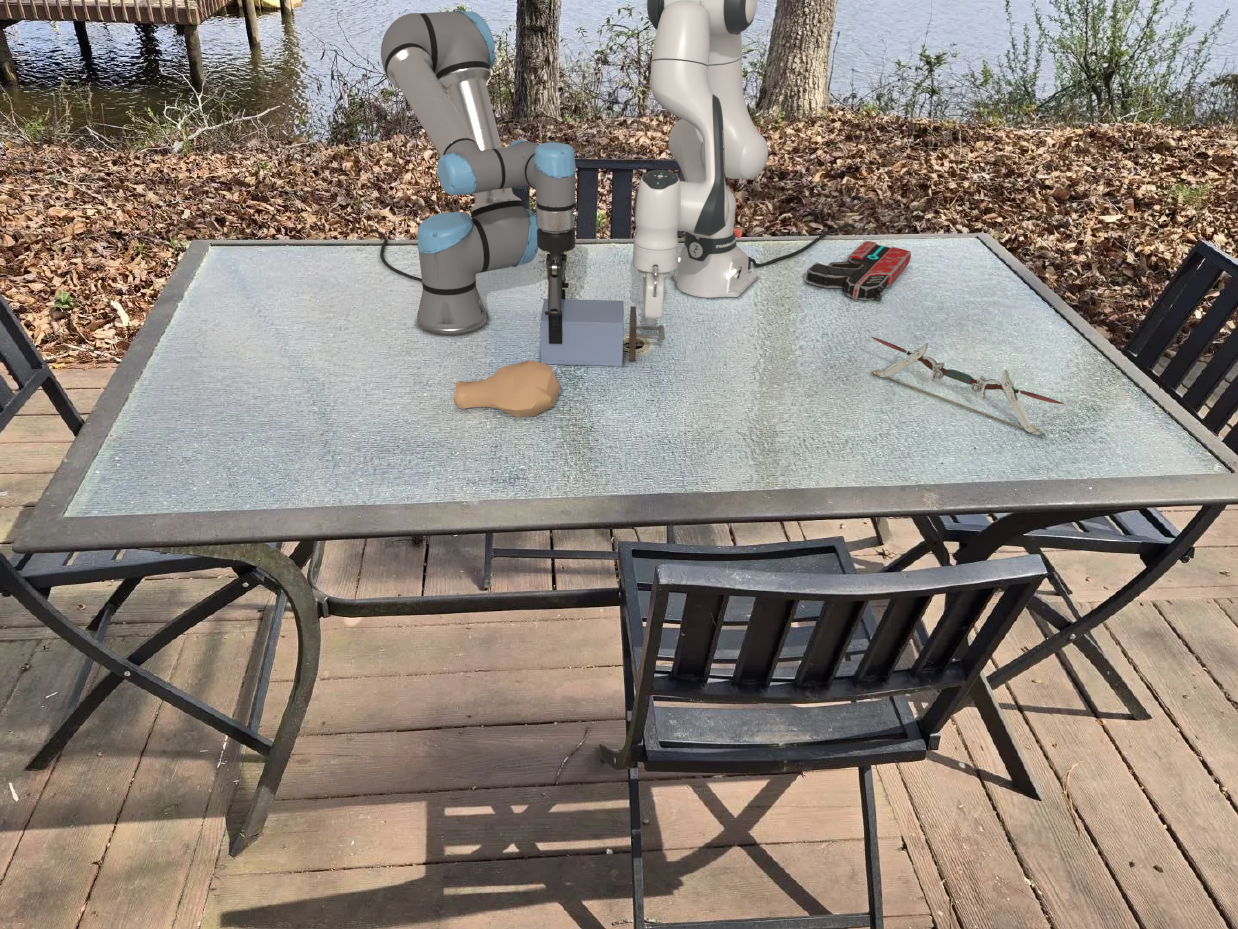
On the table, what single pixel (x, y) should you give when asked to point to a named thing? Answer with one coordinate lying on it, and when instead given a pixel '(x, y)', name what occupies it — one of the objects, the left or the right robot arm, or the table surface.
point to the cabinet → (585, 333)
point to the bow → (976, 386)
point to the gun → (862, 271)
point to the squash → (512, 390)
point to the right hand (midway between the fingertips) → (650, 321)
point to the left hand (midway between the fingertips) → (557, 330)
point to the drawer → (633, 335)
